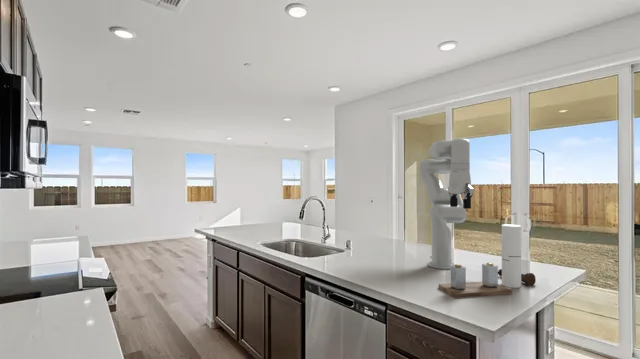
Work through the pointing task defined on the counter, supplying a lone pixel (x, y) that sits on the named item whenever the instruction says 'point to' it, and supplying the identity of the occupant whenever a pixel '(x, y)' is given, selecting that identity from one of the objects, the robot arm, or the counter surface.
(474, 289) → the wooden tray with canisters
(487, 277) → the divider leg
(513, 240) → the cylindrical container
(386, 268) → the counter surface
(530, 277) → the brown knobbed rod
